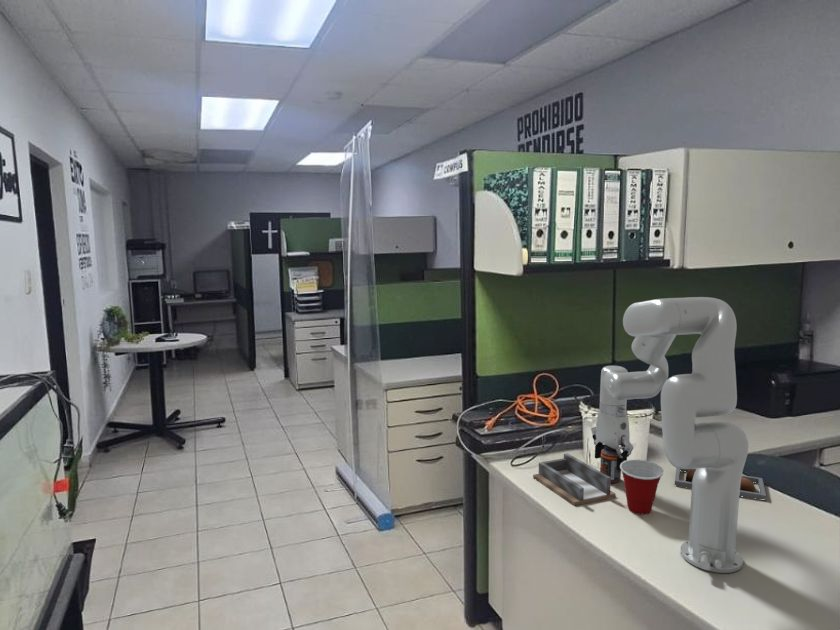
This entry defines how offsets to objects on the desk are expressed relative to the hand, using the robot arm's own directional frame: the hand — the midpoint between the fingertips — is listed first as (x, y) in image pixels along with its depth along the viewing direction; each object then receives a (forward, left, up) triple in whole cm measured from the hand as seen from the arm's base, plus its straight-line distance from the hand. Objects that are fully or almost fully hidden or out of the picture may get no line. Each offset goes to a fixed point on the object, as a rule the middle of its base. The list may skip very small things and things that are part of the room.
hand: (610, 463), depth 176 cm
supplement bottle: (0, 0, -5) cm, 5 cm away
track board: (-10, +9, -5) cm, 14 cm away
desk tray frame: (+10, -29, -5) cm, 31 cm away
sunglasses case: (+11, -30, -6) cm, 32 cm away
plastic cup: (-17, -10, -5) cm, 21 cm away
